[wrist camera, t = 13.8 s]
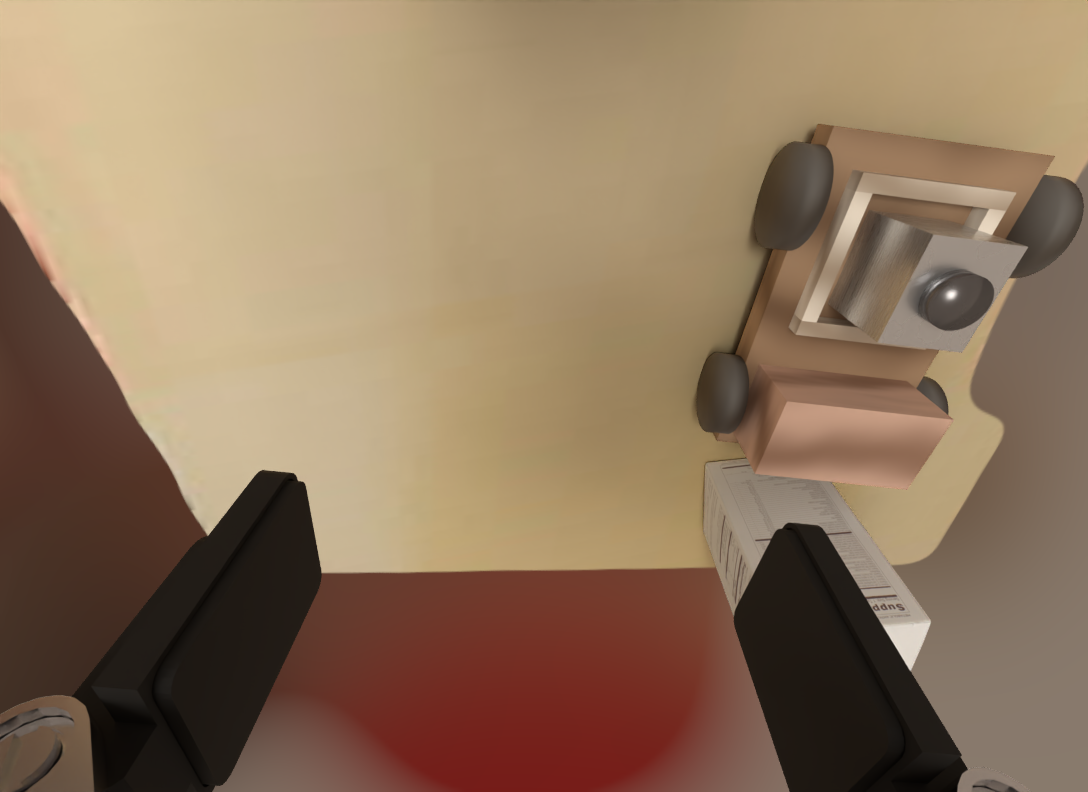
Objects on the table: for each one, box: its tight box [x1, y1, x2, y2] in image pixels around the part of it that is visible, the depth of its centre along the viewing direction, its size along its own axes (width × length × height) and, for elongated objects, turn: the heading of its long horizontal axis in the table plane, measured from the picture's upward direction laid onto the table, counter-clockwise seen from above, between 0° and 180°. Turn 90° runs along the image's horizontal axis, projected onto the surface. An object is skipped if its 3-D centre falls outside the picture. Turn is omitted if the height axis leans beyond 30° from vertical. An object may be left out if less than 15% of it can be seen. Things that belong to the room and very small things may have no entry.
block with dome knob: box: [828, 210, 1028, 353], centre depth 29 cm, size 6×5×7 cm
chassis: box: [697, 124, 1084, 490], centre depth 33 cm, size 22×16×8 cm
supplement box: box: [703, 458, 931, 671], centre depth 39 cm, size 10×9×17 cm
